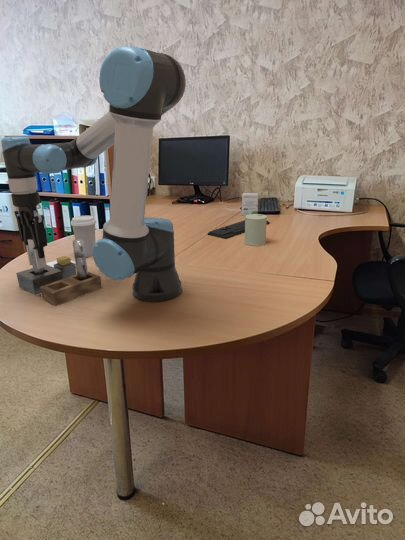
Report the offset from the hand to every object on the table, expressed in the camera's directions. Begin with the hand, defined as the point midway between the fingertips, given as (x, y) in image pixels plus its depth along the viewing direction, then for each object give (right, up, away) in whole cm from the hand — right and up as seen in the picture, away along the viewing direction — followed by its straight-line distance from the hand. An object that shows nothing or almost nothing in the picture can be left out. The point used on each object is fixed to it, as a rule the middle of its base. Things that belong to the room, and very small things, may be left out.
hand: (38, 265), depth 123 cm
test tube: (+15, -7, 0) cm, 17 cm away
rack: (+12, -9, -3) cm, 15 cm away
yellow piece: (+6, -3, +9) cm, 11 cm away
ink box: (+78, +29, +91) cm, 123 cm away
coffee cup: (+6, +4, +32) cm, 33 cm away
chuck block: (+2, -6, +5) cm, 8 cm away
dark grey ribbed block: (+70, +18, +64) cm, 97 cm away
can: (+75, +10, +43) cm, 87 cm away
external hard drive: (-2, -1, +19) cm, 19 cm away
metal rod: (0, -7, +3) cm, 7 cm away
